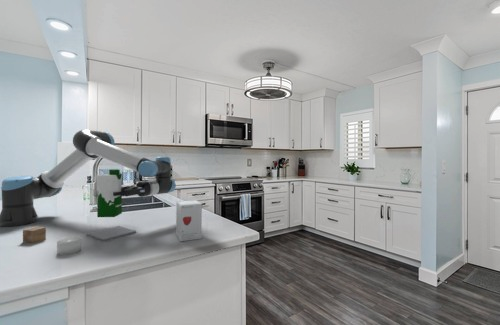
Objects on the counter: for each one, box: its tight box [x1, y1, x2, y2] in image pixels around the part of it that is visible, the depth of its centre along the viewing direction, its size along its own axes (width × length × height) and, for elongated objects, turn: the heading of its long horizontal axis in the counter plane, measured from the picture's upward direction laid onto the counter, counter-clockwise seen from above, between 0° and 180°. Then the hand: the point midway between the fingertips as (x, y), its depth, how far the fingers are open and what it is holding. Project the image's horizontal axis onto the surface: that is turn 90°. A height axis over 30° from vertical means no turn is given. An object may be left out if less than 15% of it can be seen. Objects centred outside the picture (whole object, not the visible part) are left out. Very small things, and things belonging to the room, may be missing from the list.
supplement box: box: [175, 199, 203, 242], centre depth 105 cm, size 9×9×15 cm
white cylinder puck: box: [56, 236, 82, 256], centre depth 89 cm, size 7×7×4 cm
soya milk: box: [95, 169, 123, 218], centre depth 108 cm, size 9×9×20 cm
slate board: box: [86, 225, 137, 242], centre depth 109 cm, size 14×14×1 cm
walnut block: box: [22, 226, 47, 244], centre depth 100 cm, size 5×5×5 cm
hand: (98, 194), depth 104 cm, fingers closed on soya milk, 8 cm apart
